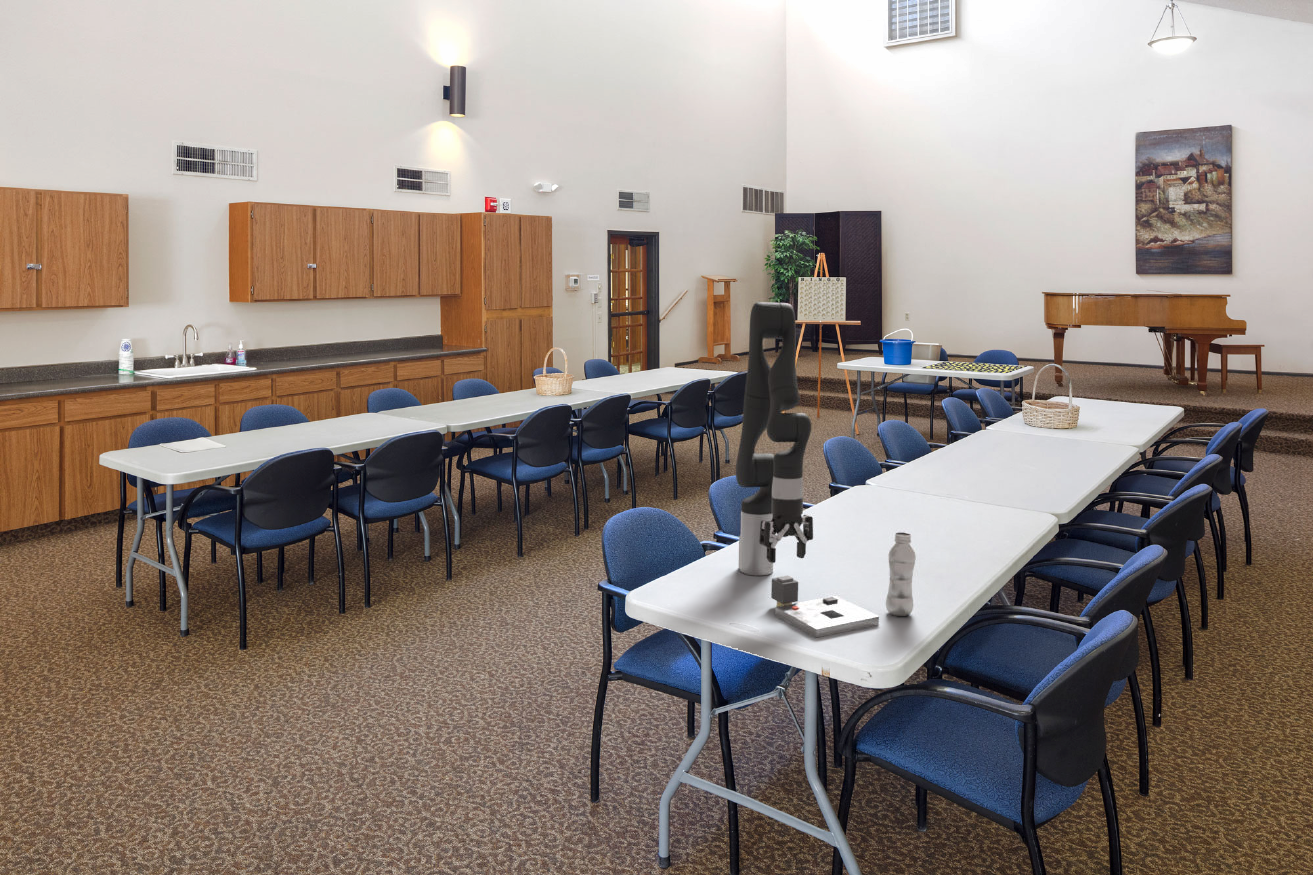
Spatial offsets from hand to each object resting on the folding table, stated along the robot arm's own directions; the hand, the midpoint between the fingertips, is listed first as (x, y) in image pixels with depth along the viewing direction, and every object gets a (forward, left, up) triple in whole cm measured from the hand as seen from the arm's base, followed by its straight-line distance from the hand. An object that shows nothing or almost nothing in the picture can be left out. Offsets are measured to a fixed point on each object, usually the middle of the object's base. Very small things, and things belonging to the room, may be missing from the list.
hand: (786, 559), depth 217 cm
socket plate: (+11, +4, -12) cm, 17 cm away
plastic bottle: (+16, +22, -12) cm, 30 cm away
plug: (0, 0, -12) cm, 12 cm away
